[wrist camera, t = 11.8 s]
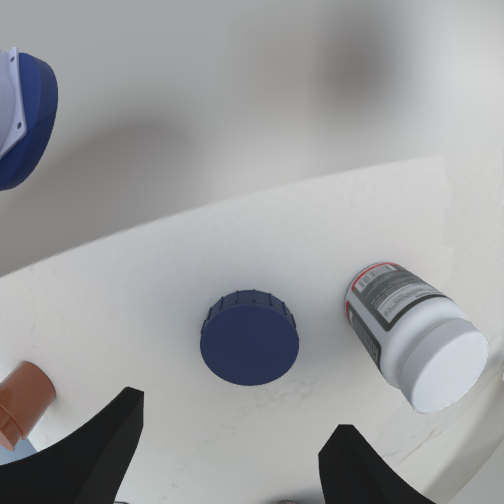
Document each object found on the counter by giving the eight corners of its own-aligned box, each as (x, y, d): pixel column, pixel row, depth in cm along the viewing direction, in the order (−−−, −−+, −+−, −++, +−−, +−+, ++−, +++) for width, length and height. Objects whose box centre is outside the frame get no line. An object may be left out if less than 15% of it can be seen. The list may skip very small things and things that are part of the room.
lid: (279, 373, 17) (282, 393, 15) (196, 354, 17) (191, 374, 15) (307, 301, 16) (314, 317, 14) (214, 278, 16) (209, 292, 14)
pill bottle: (394, 334, 17) (459, 416, 9) (332, 326, 17) (382, 426, 8) (420, 267, 16) (510, 327, 8) (357, 252, 15) (441, 319, 7)
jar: (12, 364, 18) (-31, 409, 11) (34, 357, 18) (-16, 409, 10) (39, 402, 19) (3, 450, 12) (64, 399, 19) (25, 456, 11)
